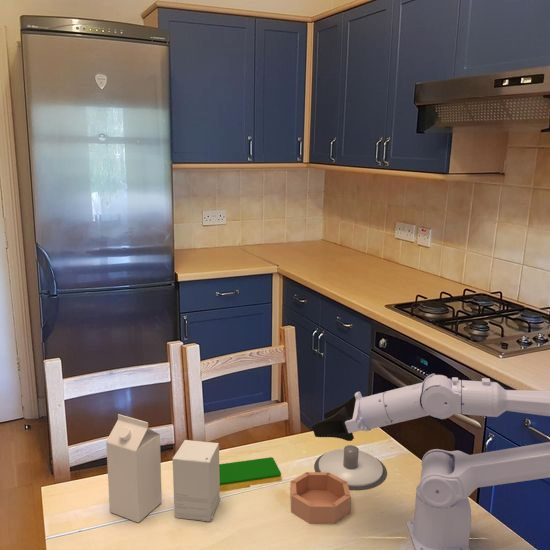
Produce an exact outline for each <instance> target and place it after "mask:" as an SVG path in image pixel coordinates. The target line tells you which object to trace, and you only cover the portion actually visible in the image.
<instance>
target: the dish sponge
mask: <svg viewBox="0 0 550 550" xmlns="http://www.w3.org/2000/svg"><path fill="white" fill-rule="evenodd" d="M219 479H220V492H226V491H232V490H233V491H234V490H239V489H240V490H241V489H246V488H251V486H255V485H262V484H269V483H275V482H280V481H281V480H282V472H281V470H280V469H279V467H278V464H277V462H276V460H275V459H274V457H271V456H269V457H264V458H255V459H249V460H240V461H234V462H226V463H219Z"/></svg>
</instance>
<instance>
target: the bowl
mask: <svg viewBox="0 0 550 550" xmlns="http://www.w3.org/2000/svg"><path fill="white" fill-rule="evenodd" d="M289 489H290V491H289V492H290V494H289V499H290V500H289V501H290V513H291V514H293V515H295V516H297V518H299V519H301V520H303V521H304V522H306V523H308V524H310V525H311V524H313V525H335V524H336V523H339V521H341V520H342V519H344V518H345V517H347V516H348V515H349V514H350V513H351V500H352V499H351V498H352V497H351V492H350V491H351V490H349V487H348V483H347V482H346V481H344V480H343V479H341V478H339V477H337V476H335V475H333V474H331V473H329V472H315V471H309V472H308V471H306V472H304V473H302V474H300V475H299V476H297V477H295V478H294V479H293V480H291V481H290V487H289Z"/></svg>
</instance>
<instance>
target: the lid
mask: <svg viewBox="0 0 550 550" xmlns="http://www.w3.org/2000/svg"><path fill="white" fill-rule="evenodd" d="M325 453H326V454H325ZM325 453H323V454H324V455H323V454H322V455H323V456H322V455H321V456H322V457H321V458H320V460H319V471H320V472H329V473H331V474H333V475H335V476H337V477H339V478H341V479H343V480H344V481H346V482H347V483H348V487H366V486H370V485H372V484H374V483H376V482H378V481H379V480H380V479H381V477H382V473H383V468H382V465H381V463H380V462H379V461H380V460H379V459H378V458H377V457H376V456H373V455H372V454H369V453H368V452H365V451H361V450H360V449H359V447H357V446H355V445H349V444H348V445H346V446H344V447H343V448H339V449H334V450H330V451H328V452H325ZM376 458H377V459H378V460H379V461H378V460H377V459H376Z"/></svg>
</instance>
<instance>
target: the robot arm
mask: <svg viewBox="0 0 550 550" xmlns="http://www.w3.org/2000/svg"><path fill="white" fill-rule="evenodd" d="M505 412H515V413H520V414H530V415H536V416H544V417H550V390H529V389H528V390H526V389H525V390H523V389H521V390H520V389H519V390H518V389H517V390H516V389H515V390H514V389H505V388H504V387H503V386H501V384H499V383H498V382H495V381H491V379H490V378H487V377H482V378H481V380H480V381H478V380H465V379H459V377H456V376H455V377H451V378H448V376H446V375H443V374H436V373H431V374H429V375H427V376H426V378H424V380H423V381H422V382H418V383H415V384H411V385H406V386H405V385H404V386H403V387H399V388H394V389H391V390H387V391H384V392H379V393H375V394H371V395H369V396H368V395H367V396H362V393H361V391H357V392H355V393H354V395H353V396H352V397H351V398H349V399H348V400H347V401H345V402H343V403H342V404H340V405H338V406H336V407H334V408H332V409H330V410H328V411H326V412H324V414H323V415H324V419H322V420H320V421H318V422H316V423H314V424H313V425H311V428H312V431H313V433H314V437H316V438H334V439H335V438H336V439H341V440H345V441H347V442H352V441H353V440H354V439H355V437H354V433H356V432H359V431H362V432H369V431H371V430H374V429H377V428H383V427H386V426H390V425H394V424H398V423H402V422H408V421H411V420H416V419H419V418H423V417H427V416H430V417H433V418H437V419H440V420H445V419H448V418H450V417H452V416H453V415H468V416H481V417H491V418H492V417H493V418H498V417H499V416H501V415H502V414H503V413H505ZM548 478H550V441H548V442H541V443H535V444H530V445H529V444H528V445H524V446H517V447H511V448H505V449H499V450H498V449H497V450H491V451H486V452H480V453H474V454H468V453H465V452H464V451H461V450H452V451H451V450H450V451H449V450H445V449H442V448H441V449H439V448H436V449H435V448H434V449H430V450H428V451H426V452H425V454H423V457H422V459H421V471H420V478H419V479H420V480H419V483H418V484H417V487H416V490H415V501H414V511H413V512H414V513H413V520H412V521H406V522H405V523H406V526H407V529H408V532H409V534H410V538H411V540H412V543H413V546H414V550H470V547H469V546H470V537H471V536H470V535H471V527H472V508H471V503H470V500H469V496H470V495H471V494H473V492H474V491H476V490H477V489H478V488H484V487H491V486H498V485H505V484H513V483H519V482H520V483H521V482H526V481H527V482H528V481H533V480H540V479H548Z"/></svg>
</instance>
